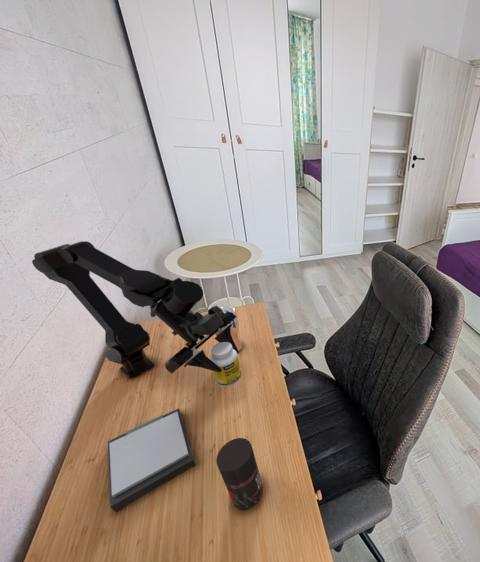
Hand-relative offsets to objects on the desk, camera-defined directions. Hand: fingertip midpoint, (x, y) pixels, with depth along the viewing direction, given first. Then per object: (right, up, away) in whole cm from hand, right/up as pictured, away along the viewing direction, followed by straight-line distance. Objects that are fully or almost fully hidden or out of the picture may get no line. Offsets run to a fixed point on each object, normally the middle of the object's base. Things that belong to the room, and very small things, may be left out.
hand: (229, 362), depth 72 cm
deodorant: (+11, -24, -13) cm, 29 cm away
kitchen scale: (-13, -19, -8) cm, 25 cm away
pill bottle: (-2, -6, +4) cm, 7 cm away
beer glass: (-11, -2, +22) cm, 25 cm away
